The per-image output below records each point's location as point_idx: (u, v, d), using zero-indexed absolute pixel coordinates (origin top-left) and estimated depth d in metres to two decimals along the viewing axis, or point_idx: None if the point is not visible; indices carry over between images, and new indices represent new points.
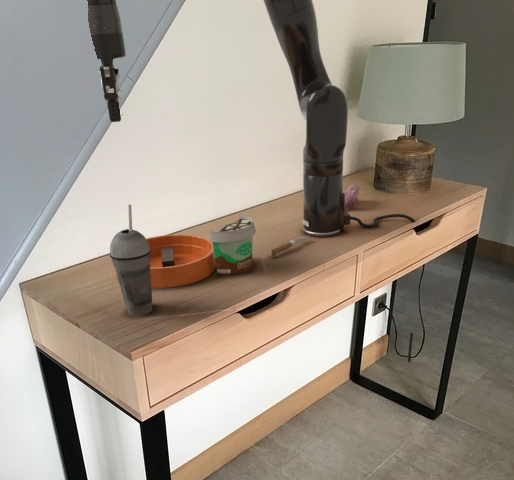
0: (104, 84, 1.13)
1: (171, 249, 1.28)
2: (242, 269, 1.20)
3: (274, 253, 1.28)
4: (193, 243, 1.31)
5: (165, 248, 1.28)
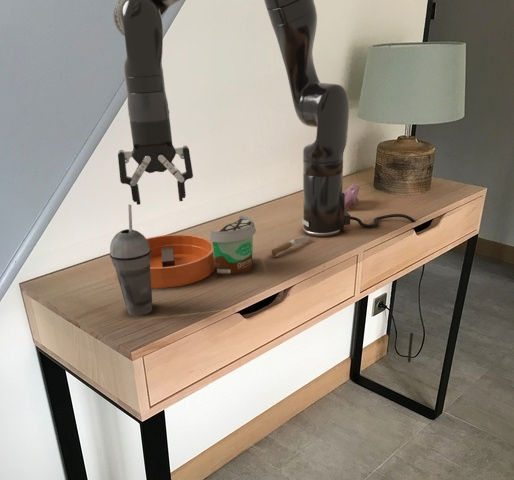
0: None
1: (171, 249, 1.28)
2: (242, 269, 1.20)
3: (274, 253, 1.28)
4: (193, 243, 1.31)
5: (165, 248, 1.28)
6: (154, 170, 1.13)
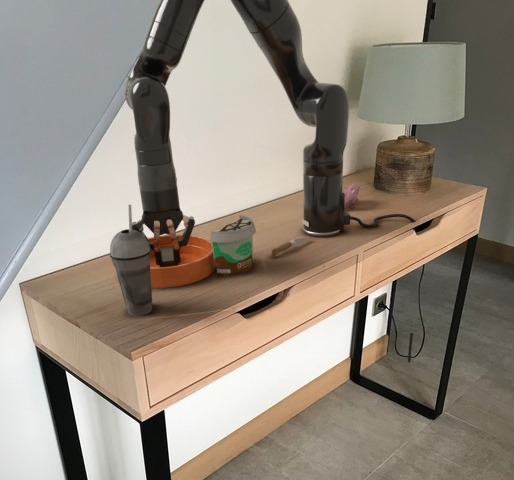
0: None
1: (171, 249, 1.28)
2: (242, 269, 1.20)
3: (274, 253, 1.28)
4: (193, 243, 1.31)
5: (165, 248, 1.28)
6: (163, 233, 1.20)
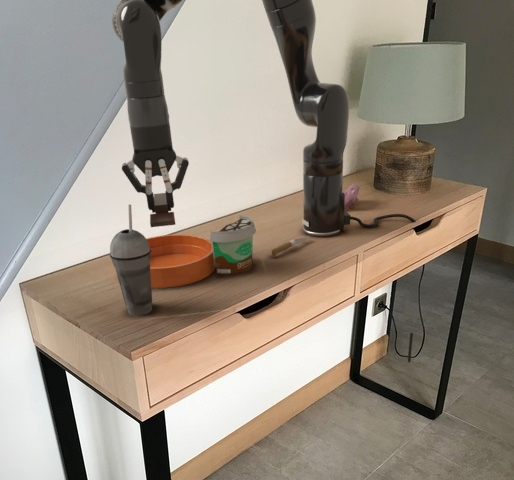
0: None
1: (164, 195, 1.22)
2: (242, 269, 1.20)
3: (274, 253, 1.28)
4: (193, 243, 1.31)
5: (158, 194, 1.23)
6: (155, 174, 1.14)
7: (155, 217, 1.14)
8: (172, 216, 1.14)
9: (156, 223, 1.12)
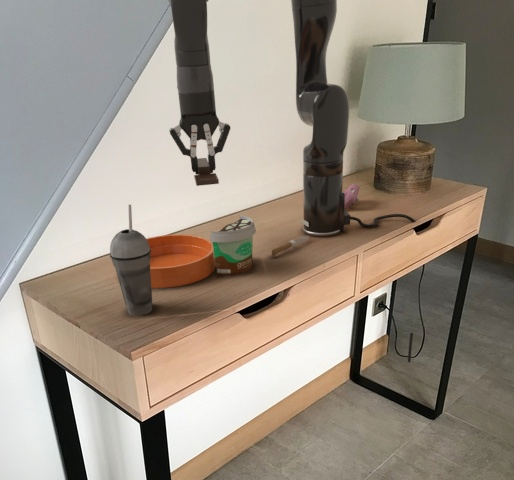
0: None
1: (205, 159, 1.33)
2: (242, 269, 1.20)
3: (274, 253, 1.28)
4: (193, 243, 1.31)
5: (199, 159, 1.33)
6: (199, 138, 1.25)
7: (199, 177, 1.25)
8: (215, 176, 1.25)
9: (201, 182, 1.22)
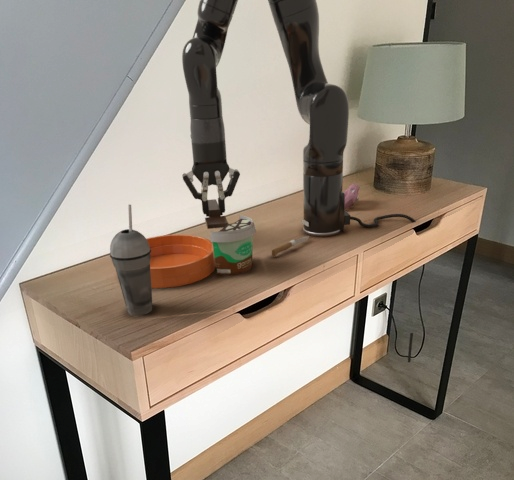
0: None
1: (215, 201, 1.40)
2: (242, 269, 1.20)
3: (274, 253, 1.28)
4: (193, 243, 1.31)
5: (209, 200, 1.41)
6: (210, 183, 1.32)
7: (210, 220, 1.32)
8: (225, 219, 1.32)
9: (212, 225, 1.30)
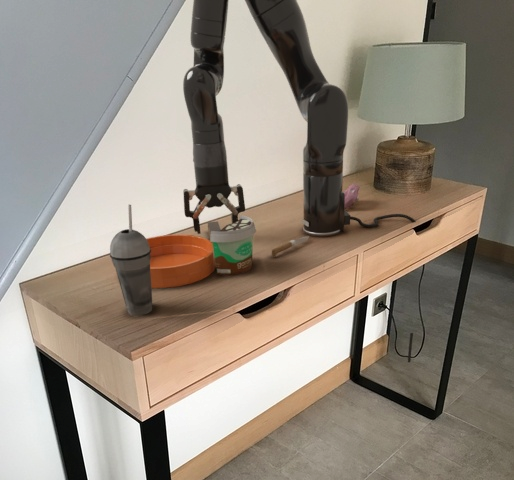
0: None
1: (217, 223, 1.43)
2: (242, 269, 1.20)
3: (274, 253, 1.28)
4: (193, 243, 1.31)
5: (211, 223, 1.44)
6: (213, 205, 1.35)
7: None
8: None
9: None
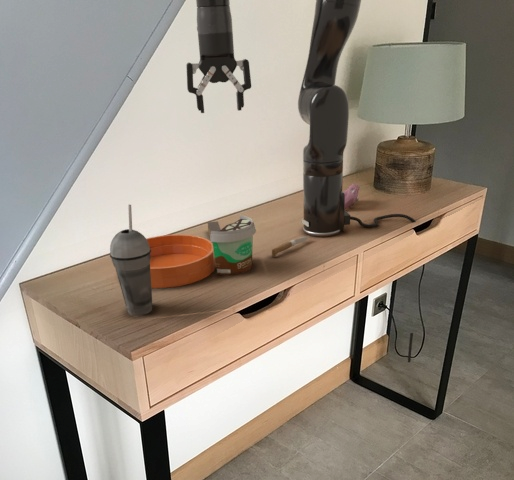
0: None
1: (217, 223, 1.43)
2: (242, 269, 1.20)
3: (274, 253, 1.28)
4: (193, 243, 1.31)
5: (211, 223, 1.44)
6: (217, 80, 1.28)
7: None
8: None
9: None
